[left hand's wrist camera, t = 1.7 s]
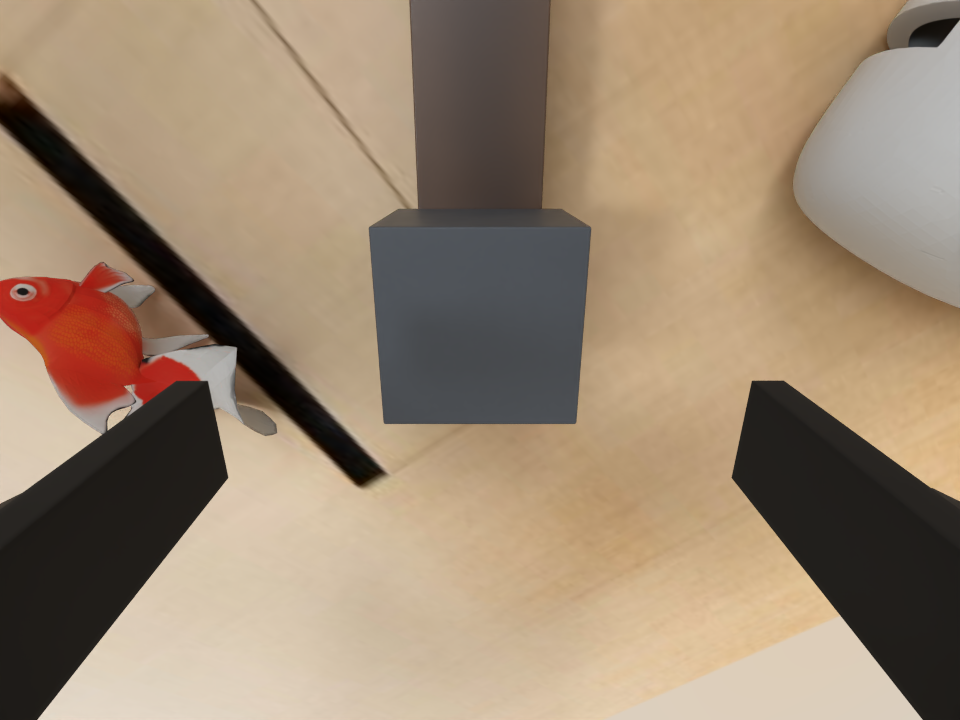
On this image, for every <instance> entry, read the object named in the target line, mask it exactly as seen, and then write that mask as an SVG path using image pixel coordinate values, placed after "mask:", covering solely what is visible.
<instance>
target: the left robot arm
mask: <svg viewBox="0 0 960 720" xmlns="http://www.w3.org/2000/svg"><path fill="white" fill-rule="evenodd" d="M227 479H228V474H227V469H226V465H225V460H224V455H223V450H222V445H221V441H220V436H219V431H218V426H217V422H216V417H215V412H214V407H213V402H212V398H211V393H210V388H209V383H208V381H175V382H174V383H173V384H171V385H170V386H168V387H167V388H166V389H164V390H163V391H162V392H160V393H159V394H157V395H156V396H155V397H153V398H152V399H151V400H149V401H148V402H147V403H145V404H144V405H142V406H141V407H140V408H138V409H137V410H136V411H134V412H133V413H131V414H130V415H129V416H127V417H126V418H125V419H123V420H122V421H120V422H119V423H118V424H116V425H115V426H114V427H112V428H111V429H110V430H108V431H107V432H105V433H104V434H103V435H101V436H100V437H99V438H97V439H96V440H94V441H93V442H92V443H90V444H89V445H88V446H86V447H85V448H83V449H82V450H81V451H79V452H78V453H77V454H75V455H74V456H73V457H71V458H70V459H68V460H67V461H66V462H64V463H63V464H62V465H60V466H59V467H57V468H56V469H55V470H53V471H52V472H51V473H49V474H48V475H46V476H45V477H44V478H42V479H41V480H40V481H38V482H37V483H36V484H34V485H33V486H31V487H30V488H29V489H27V490H26V491H25V492H23V493H21V494H19V495H17V496H15V497H13V498H11V499H9V500H7V501H5V502H3V503H1V504H0V720H37V719H38V718H39V717H40V716H41V714H42V713H43V712H44V710H45V709H46V708H47V707H48V705H49V704H50V703H51V702H52V700H53V699H54V698H55V697H56V695H57V694H58V693H59V691H60V690H61V689H62V688H63V686H64V685H65V684H66V683H67V681H68V680H69V679H70V678H71V676H72V675H73V674H74V672H75V671H76V670H77V669H78V667H79V666H80V665H81V664H82V662H83V661H84V660H85V659H86V657H87V656H88V655H89V653H90V652H91V651H92V650H93V648H94V647H95V646H96V645H97V643H98V642H99V641H100V640H101V638H102V637H103V636H104V634H105V633H106V632H107V631H108V629H109V628H110V627H111V626H112V624H113V623H114V622H115V621H116V619H117V618H118V617H119V615H120V614H121V613H122V612H123V610H124V609H125V608H126V607H127V605H128V604H129V603H130V602H131V600H132V599H133V598H134V597H135V595H136V594H137V593H138V591H139V590H140V589H141V588H142V586H143V585H144V584H145V583H146V581H147V580H148V579H149V578H150V576H151V575H152V574H153V572H154V571H155V570H156V569H157V567H158V566H159V565H160V564H161V562H162V561H163V560H164V559H165V557H166V556H167V555H168V553H169V552H170V551H171V550H172V548H173V547H174V546H175V545H176V543H177V542H178V541H179V540H180V538H181V537H182V536H183V534H184V533H185V532H186V531H187V529H188V528H189V527H190V526H191V524H192V523H193V522H194V521H195V519H196V518H197V517H198V515H199V514H200V513H201V512H202V510H203V509H204V508H205V507H206V505H207V504H208V503H209V502H210V500H211V499H212V498H213V496H214V495H215V494H216V493H217V491H218V490H219V489H220V488H221V486H222V485H223V484H224V483H225V481H226V480H227ZM732 479H733V480H734V481H735V483H736V484H737V485H738V486H739V488H740V489H741V490H742V491H743V493H744V494H745V495H746V496H747V498H748V499H749V500H750V502H751V503H752V504H753V505H754V507H755V508H756V509H757V510H758V512H759V513H760V514H761V515H762V517H763V518H764V519H765V521H766V522H767V523H768V524H769V526H770V527H771V528H772V529H773V531H774V532H775V533H776V534H777V536H778V537H779V538H780V540H781V541H782V542H783V543H784V545H785V546H786V547H787V548H788V550H789V551H790V552H791V553H792V555H793V556H794V557H795V559H796V560H797V561H798V562H799V564H800V565H801V566H802V567H803V569H804V570H805V571H806V572H807V574H808V575H809V576H810V578H811V579H812V580H813V581H814V583H815V584H816V585H817V586H818V588H819V589H820V590H821V591H822V593H823V594H824V595H825V597H826V598H827V599H828V600H829V602H830V603H831V604H832V605H833V607H834V608H835V609H836V610H837V612H838V613H839V614H840V615H841V617H842V618H843V619H844V621H845V622H846V623H847V624H848V626H849V627H850V628H851V629H852V631H853V632H854V633H855V634H856V636H857V637H858V638H859V640H860V641H861V642H862V643H863V645H864V646H865V647H866V648H867V650H868V651H869V652H870V653H871V655H872V656H873V657H874V659H875V660H876V661H877V662H878V664H879V665H880V666H881V667H882V669H883V670H884V671H885V672H886V674H887V675H888V676H889V678H890V679H891V680H892V681H893V683H894V684H895V685H896V686H897V688H898V689H899V690H900V691H901V693H902V694H903V695H904V696H905V698H906V699H907V700H908V702H909V703H910V704H911V705H912V707H913V708H914V709H915V710H916V712H917V713H918V714H919V716H920V717H921V718H922V719H923V720H960V501H958V500H956V499H954V498H952V497H950V496H947V495H945V494H943V493H941V492H939V491H937V490H935V489H933V488H930V487H929V486H927V485H926V484H924V483H923V482H922V481H920V480H919V479H918V478H916V477H915V476H914V475H912V474H911V473H909V472H908V471H907V470H905V469H904V468H903V467H901V466H900V465H898V464H897V463H896V462H894V461H893V460H892V459H890V458H889V457H887V456H886V455H885V454H883V453H882V452H881V451H879V450H878V449H877V448H875V447H874V446H872V445H871V444H870V443H868V442H867V441H866V440H864V439H863V438H861V437H860V436H859V435H857V434H856V433H855V432H853V431H852V430H850V429H849V428H848V427H846V426H845V425H844V424H842V423H841V422H840V421H838V420H837V419H835V418H834V417H833V416H831V415H830V414H829V413H827V412H826V411H824V410H823V409H822V408H820V407H819V406H818V405H816V404H815V403H813V402H812V401H811V400H809V399H808V398H807V397H805V396H804V395H803V394H801V393H800V392H798V391H797V390H796V389H794V388H793V387H792V386H790V385H789V384H787V383H786V382H785V381H752V383H751V388H750V393H749V398H748V402H747V407H746V412H745V417H744V422H743V426H742V431H741V436H740V441H739V445H738V450H737V455H736V460H735V465H734V469H733V474H732Z"/></svg>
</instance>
